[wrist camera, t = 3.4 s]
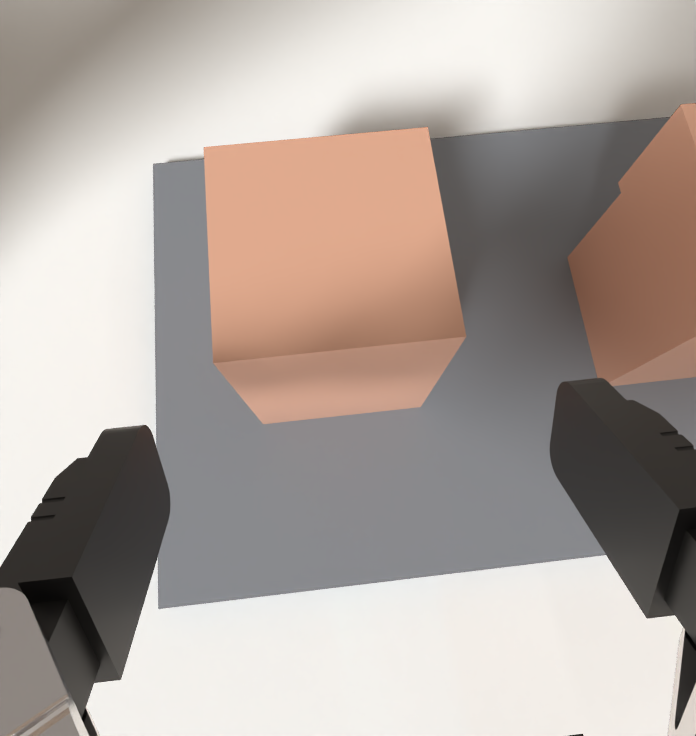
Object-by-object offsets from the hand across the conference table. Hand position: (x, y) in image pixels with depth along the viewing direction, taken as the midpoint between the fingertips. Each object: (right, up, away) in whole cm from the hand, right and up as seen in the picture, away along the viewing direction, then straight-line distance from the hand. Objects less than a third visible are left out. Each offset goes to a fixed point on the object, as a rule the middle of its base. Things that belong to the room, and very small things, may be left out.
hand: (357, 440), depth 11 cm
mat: (+5, +3, +11) cm, 13 cm away
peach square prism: (-1, +2, +10) cm, 11 cm away
